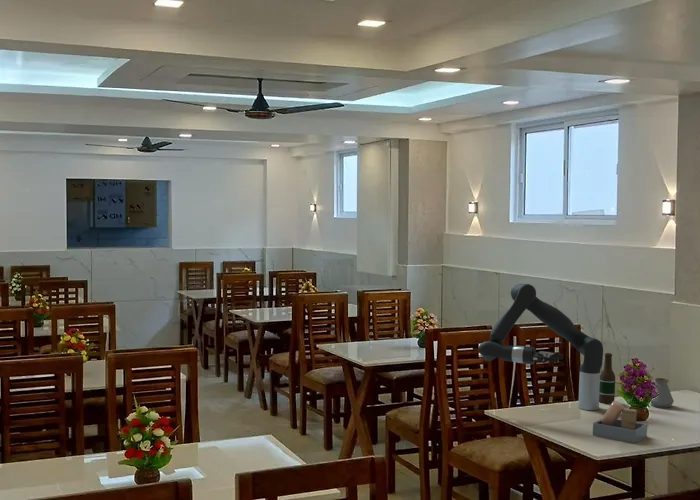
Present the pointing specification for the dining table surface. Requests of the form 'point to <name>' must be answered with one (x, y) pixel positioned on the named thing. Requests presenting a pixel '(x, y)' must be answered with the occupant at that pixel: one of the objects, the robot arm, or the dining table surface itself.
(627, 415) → the walnut block
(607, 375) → the beer bottle
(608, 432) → the blue-gray tote
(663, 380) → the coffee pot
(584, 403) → the robot arm
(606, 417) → the terracotta cylinder
